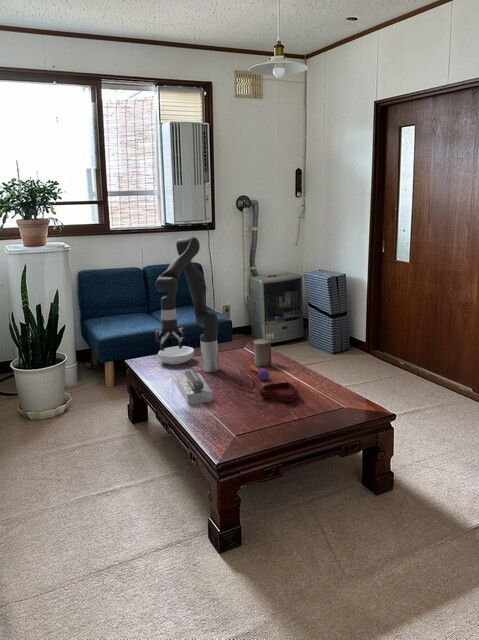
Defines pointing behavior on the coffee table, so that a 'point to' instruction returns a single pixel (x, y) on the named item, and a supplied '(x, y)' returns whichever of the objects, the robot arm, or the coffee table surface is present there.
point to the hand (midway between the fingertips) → (171, 349)
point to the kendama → (260, 372)
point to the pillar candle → (262, 352)
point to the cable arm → (194, 379)
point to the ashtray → (279, 392)
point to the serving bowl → (176, 354)
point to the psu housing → (194, 391)
